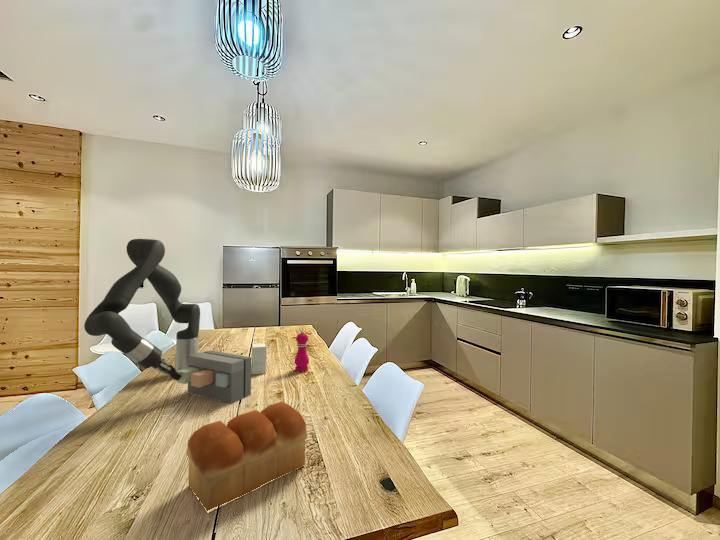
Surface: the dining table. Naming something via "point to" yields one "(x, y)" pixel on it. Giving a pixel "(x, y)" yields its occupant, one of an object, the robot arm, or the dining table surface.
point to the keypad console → (229, 364)
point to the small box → (258, 359)
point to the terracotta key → (202, 378)
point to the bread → (245, 453)
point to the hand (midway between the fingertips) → (178, 378)
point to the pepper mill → (301, 352)
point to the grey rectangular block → (222, 379)
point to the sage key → (187, 374)
